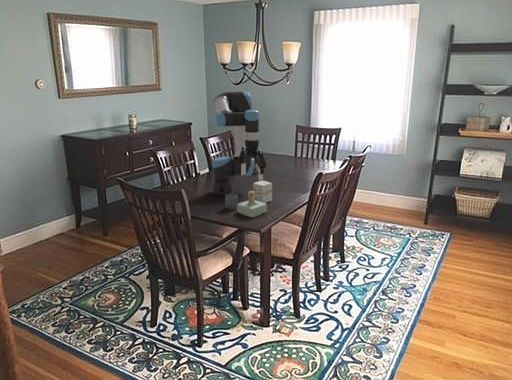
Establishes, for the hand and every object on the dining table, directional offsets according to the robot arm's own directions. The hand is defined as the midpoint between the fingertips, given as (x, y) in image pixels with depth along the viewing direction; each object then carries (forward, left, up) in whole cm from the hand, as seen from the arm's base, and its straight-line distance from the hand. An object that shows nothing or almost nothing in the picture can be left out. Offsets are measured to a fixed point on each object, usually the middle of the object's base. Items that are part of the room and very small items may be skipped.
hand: (251, 177), depth 226 cm
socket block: (0, 0, -21) cm, 21 cm away
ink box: (-10, +19, -21) cm, 30 cm away
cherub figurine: (-68, +69, -21) cm, 99 cm away
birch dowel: (0, 0, -21) cm, 21 cm away
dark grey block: (-14, -3, -21) cm, 25 cm away
